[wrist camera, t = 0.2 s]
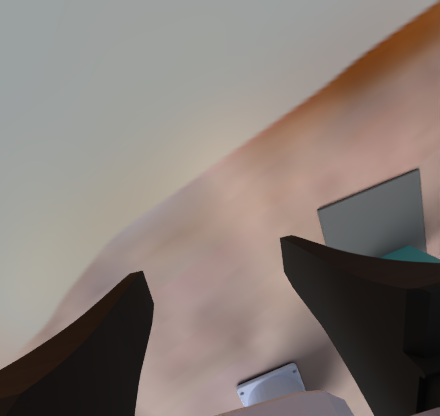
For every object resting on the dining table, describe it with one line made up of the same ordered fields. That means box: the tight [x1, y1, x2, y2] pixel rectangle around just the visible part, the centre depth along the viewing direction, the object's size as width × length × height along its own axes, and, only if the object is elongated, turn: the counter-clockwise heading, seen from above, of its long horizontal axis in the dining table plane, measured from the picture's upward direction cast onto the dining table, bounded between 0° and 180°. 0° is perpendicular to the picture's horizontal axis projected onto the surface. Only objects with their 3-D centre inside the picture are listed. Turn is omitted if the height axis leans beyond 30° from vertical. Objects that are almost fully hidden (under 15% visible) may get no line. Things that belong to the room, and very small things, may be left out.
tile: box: [380, 246, 440, 263], centre depth 21 cm, size 2×7×8 cm, turn 111°
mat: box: [317, 169, 427, 258], centre depth 24 cm, size 11×11×1 cm
